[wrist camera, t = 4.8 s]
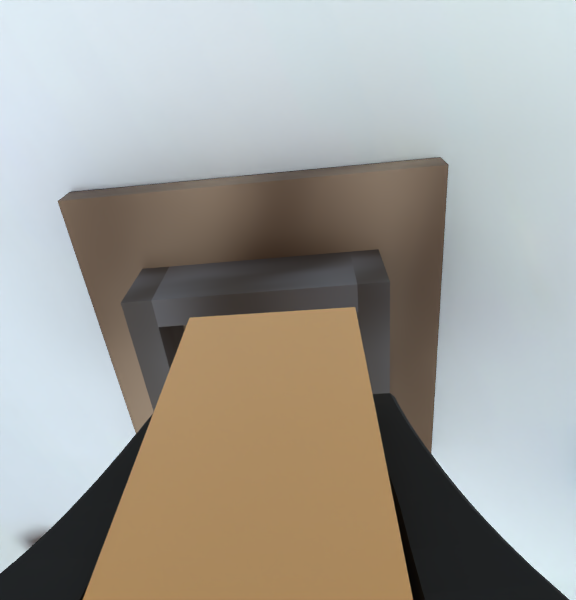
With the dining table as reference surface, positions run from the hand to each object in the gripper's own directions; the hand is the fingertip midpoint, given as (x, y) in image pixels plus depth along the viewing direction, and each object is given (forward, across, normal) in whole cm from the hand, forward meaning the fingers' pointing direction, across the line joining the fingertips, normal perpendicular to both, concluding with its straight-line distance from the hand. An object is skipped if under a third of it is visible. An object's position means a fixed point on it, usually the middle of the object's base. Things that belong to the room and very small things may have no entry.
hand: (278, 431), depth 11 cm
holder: (+9, +1, +3) cm, 9 cm away
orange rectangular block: (+2, 0, 0) cm, 2 cm away
